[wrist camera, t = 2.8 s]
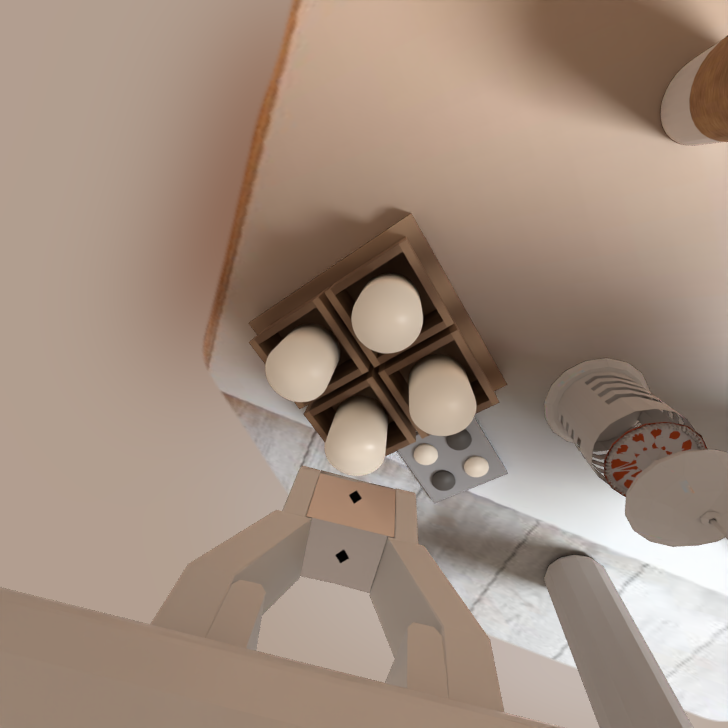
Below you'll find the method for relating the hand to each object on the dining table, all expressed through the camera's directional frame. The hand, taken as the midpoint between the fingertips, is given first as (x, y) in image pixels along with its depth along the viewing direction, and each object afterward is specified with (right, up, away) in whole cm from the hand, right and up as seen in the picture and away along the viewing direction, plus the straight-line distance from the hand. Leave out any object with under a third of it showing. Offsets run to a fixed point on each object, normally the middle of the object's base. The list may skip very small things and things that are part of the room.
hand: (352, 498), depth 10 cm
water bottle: (+27, -23, +36) cm, 50 cm away
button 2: (-4, +5, +23) cm, 24 cm away
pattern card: (+10, -7, +32) cm, 34 cm away
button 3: (+7, +2, +23) cm, 24 cm away
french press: (+24, -1, +28) cm, 37 cm away
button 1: (+2, +8, +21) cm, 23 cm away
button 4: (0, -2, +25) cm, 25 cm away
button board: (+2, +5, +28) cm, 28 cm away
